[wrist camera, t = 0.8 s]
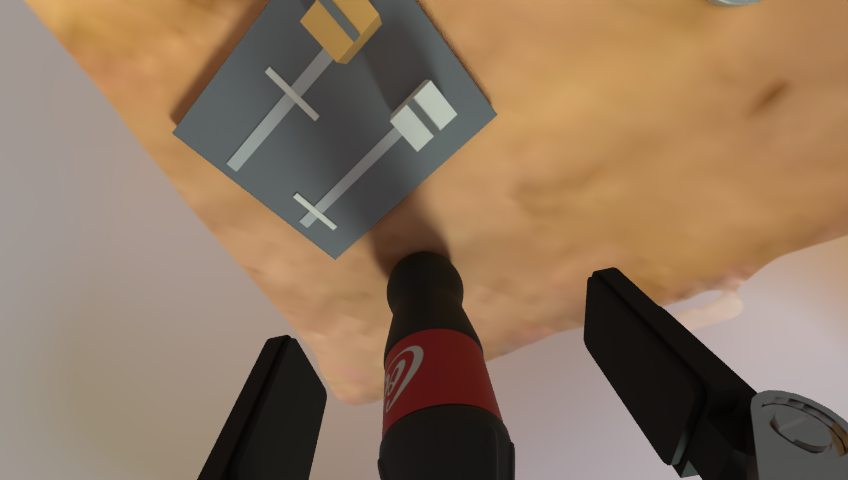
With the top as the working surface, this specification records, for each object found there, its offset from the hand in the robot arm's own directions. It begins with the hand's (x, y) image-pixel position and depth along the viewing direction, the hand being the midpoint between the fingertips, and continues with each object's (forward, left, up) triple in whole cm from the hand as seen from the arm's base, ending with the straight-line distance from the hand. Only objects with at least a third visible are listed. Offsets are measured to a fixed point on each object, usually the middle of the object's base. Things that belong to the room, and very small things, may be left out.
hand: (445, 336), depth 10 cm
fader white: (-3, -3, -21) cm, 22 cm away
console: (+3, -7, -23) cm, 24 cm away
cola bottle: (+9, +11, -23) cm, 27 cm away
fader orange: (-3, -11, -21) cm, 24 cm away
